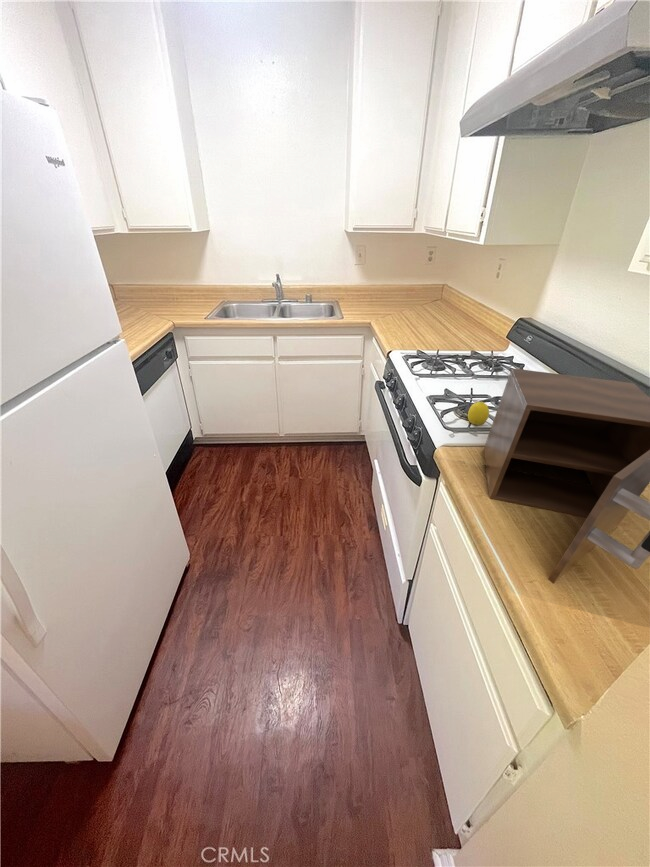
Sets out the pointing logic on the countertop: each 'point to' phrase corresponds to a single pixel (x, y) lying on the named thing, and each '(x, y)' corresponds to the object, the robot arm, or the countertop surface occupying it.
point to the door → (612, 519)
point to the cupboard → (564, 438)
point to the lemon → (478, 413)
